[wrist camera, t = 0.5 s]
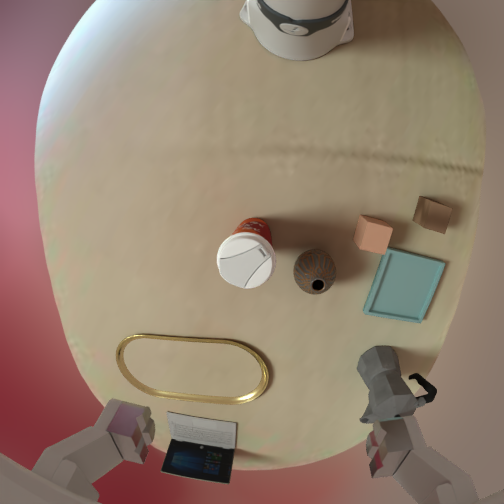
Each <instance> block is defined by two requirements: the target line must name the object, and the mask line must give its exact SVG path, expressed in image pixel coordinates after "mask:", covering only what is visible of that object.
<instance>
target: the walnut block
mask: <svg viewBox="0 0 504 504" xmlns="http://www.w3.org/2000/svg"><path fill="white" fill-rule="evenodd" d="M451 212H452V208H450V207H448V206H445V205H443V204H441V203H439V202H436V201H433V200H430V199H427V198H424V197H421V196H419V199H418V203H417V207H416V210H415V214H414V217H413V221H414V222H416V223H418V224H419V225H421V226H422V227H424V228H427V229H430V230H433V231H436V232H440V233H443V234H445V232H446V229H447V226H448V223H449V219H450V216H451Z"/></svg>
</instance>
